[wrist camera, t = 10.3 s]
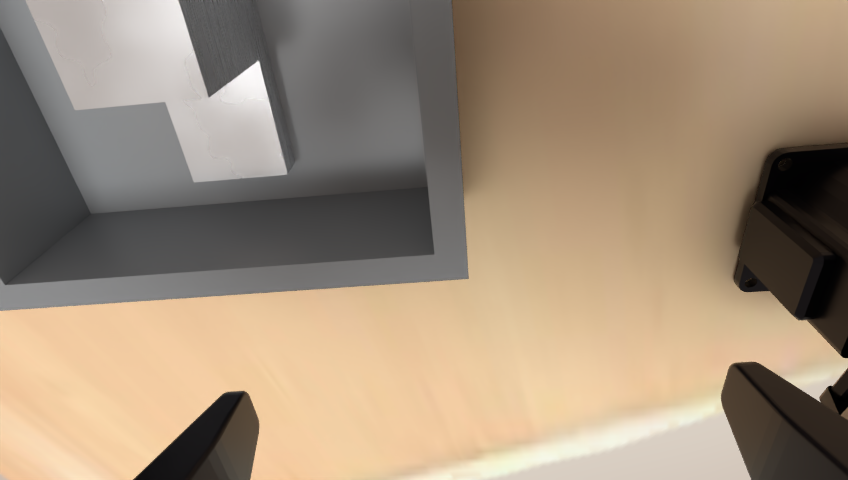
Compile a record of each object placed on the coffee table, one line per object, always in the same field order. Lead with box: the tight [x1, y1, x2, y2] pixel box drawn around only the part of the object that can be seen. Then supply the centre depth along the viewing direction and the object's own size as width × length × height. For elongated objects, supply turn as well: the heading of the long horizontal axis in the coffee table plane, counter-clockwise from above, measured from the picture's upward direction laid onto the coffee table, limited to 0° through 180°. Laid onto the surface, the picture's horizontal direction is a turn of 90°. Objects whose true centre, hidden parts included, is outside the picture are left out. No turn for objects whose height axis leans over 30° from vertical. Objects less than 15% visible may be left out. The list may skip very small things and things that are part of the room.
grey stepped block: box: [25, 0, 295, 182], centre depth 15 cm, size 4×8×6 cm, turn 5°
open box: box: [0, 0, 469, 311], centre depth 15 cm, size 16×15×6 cm
